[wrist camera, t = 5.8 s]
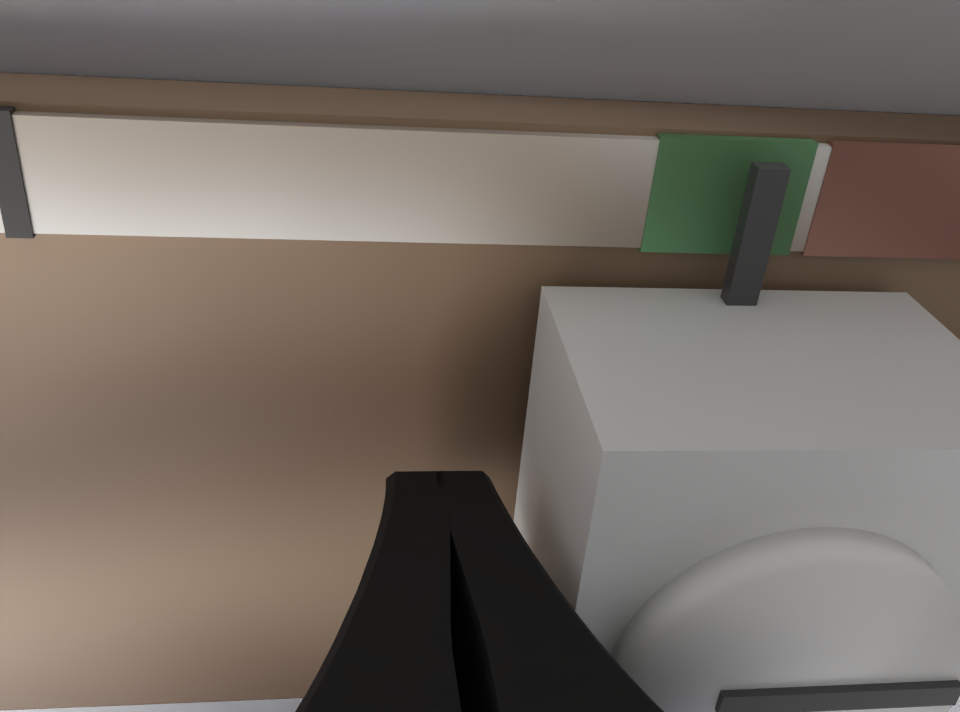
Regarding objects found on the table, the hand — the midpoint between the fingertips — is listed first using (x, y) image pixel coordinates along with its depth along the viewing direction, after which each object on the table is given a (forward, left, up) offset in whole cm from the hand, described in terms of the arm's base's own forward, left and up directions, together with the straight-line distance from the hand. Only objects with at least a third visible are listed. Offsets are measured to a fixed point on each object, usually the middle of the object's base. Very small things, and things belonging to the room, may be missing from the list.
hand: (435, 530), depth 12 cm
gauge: (+1, -5, -1) cm, 6 cm away
